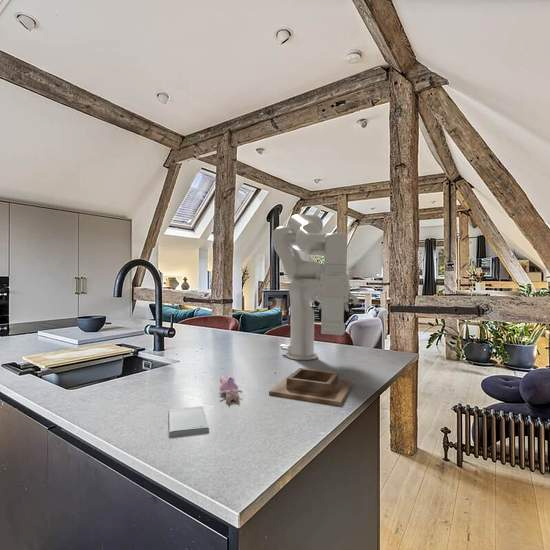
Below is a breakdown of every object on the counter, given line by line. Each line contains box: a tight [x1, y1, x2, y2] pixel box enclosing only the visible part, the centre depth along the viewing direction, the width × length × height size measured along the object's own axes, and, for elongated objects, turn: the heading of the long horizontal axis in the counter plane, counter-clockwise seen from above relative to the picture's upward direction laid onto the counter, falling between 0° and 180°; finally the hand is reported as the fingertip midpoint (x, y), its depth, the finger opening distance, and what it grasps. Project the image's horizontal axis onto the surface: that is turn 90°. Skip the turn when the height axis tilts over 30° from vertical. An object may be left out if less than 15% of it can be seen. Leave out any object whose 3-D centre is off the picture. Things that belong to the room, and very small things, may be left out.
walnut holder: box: [268, 367, 354, 407], centre depth 105 cm, size 20×20×4 cm
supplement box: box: [320, 296, 346, 336], centre depth 121 cm, size 7×7×13 cm
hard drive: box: [168, 405, 210, 437], centre depth 80 cm, size 2×8×12 cm
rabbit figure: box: [219, 375, 243, 404], centre depth 99 cm, size 6×6×15 cm
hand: (333, 321), depth 121 cm, fingers closed on supplement box, 7 cm apart
